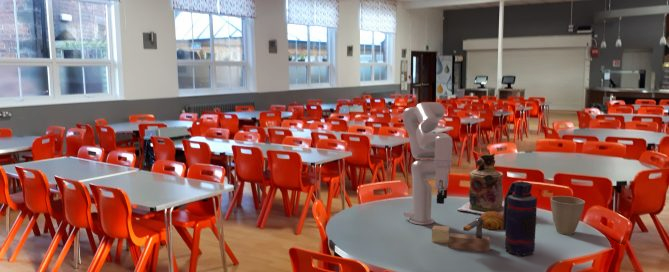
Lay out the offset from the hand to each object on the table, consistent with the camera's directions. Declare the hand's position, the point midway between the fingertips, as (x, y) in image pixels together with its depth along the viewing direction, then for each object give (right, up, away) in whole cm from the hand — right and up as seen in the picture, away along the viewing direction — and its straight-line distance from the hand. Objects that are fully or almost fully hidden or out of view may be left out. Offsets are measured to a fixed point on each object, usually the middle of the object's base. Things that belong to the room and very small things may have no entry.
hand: (441, 200), depth 237 cm
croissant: (+31, -16, +25) cm, 42 cm away
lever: (+10, -9, -15) cm, 21 cm away
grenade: (+30, -20, -12) cm, 38 cm away
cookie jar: (+35, -12, +54) cm, 65 cm away
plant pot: (+62, -17, +14) cm, 66 cm away
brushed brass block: (0, -18, +2) cm, 19 cm away
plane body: (+10, -20, -8) cm, 23 cm away
